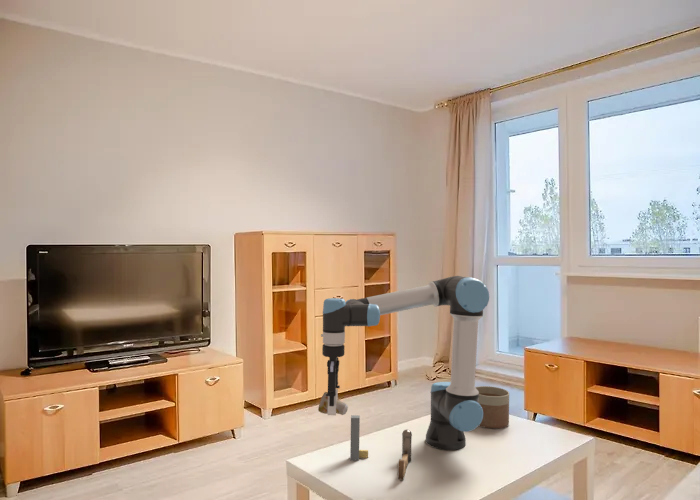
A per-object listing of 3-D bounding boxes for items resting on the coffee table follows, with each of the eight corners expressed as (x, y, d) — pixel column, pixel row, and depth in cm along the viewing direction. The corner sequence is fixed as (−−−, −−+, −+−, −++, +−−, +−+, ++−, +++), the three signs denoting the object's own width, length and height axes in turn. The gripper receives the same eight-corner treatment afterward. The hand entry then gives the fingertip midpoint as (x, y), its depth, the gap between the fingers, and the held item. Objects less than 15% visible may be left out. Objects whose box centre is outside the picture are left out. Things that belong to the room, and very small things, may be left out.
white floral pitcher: (348, 419, 171) (333, 393, 170) (324, 427, 175) (309, 403, 174) (354, 406, 178) (339, 382, 177) (330, 415, 182) (316, 391, 181)
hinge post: (411, 458, 184) (411, 428, 184) (411, 462, 180) (412, 431, 180) (401, 458, 184) (401, 428, 184) (402, 462, 181) (402, 431, 180)
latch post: (368, 456, 185) (368, 415, 185) (367, 461, 181) (368, 418, 181) (350, 456, 185) (351, 414, 185) (350, 460, 182) (350, 417, 182)
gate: (403, 462, 180) (403, 445, 180) (408, 462, 180) (408, 445, 179) (398, 479, 167) (398, 460, 167) (403, 479, 166) (403, 461, 166)
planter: (502, 432, 211) (503, 398, 211) (465, 424, 220) (465, 392, 220) (513, 421, 224) (513, 389, 224) (477, 414, 233) (478, 384, 233)
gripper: (325, 338, 186) (324, 402, 186) (319, 349, 166) (318, 420, 166) (346, 338, 186) (345, 402, 186) (342, 350, 166) (341, 421, 166)
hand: (332, 411), depth 176 cm, fingers closed on white floral pitcher, 7 cm apart
